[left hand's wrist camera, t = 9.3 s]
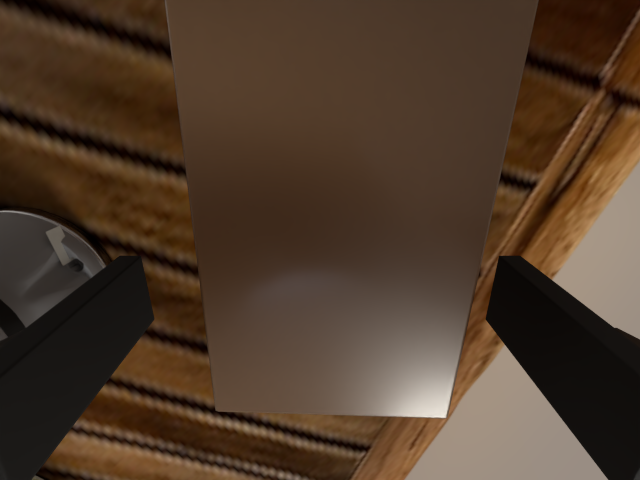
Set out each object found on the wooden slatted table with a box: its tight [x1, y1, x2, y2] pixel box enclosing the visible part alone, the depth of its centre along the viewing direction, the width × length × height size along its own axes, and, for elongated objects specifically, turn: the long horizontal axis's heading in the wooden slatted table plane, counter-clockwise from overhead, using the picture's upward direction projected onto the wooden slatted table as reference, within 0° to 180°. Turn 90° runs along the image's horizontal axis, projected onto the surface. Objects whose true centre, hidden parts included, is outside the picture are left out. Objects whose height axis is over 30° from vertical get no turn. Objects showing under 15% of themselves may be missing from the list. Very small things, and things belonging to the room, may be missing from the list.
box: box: [165, 0, 539, 418], centre depth 11 cm, size 21×6×12 cm, turn 179°
